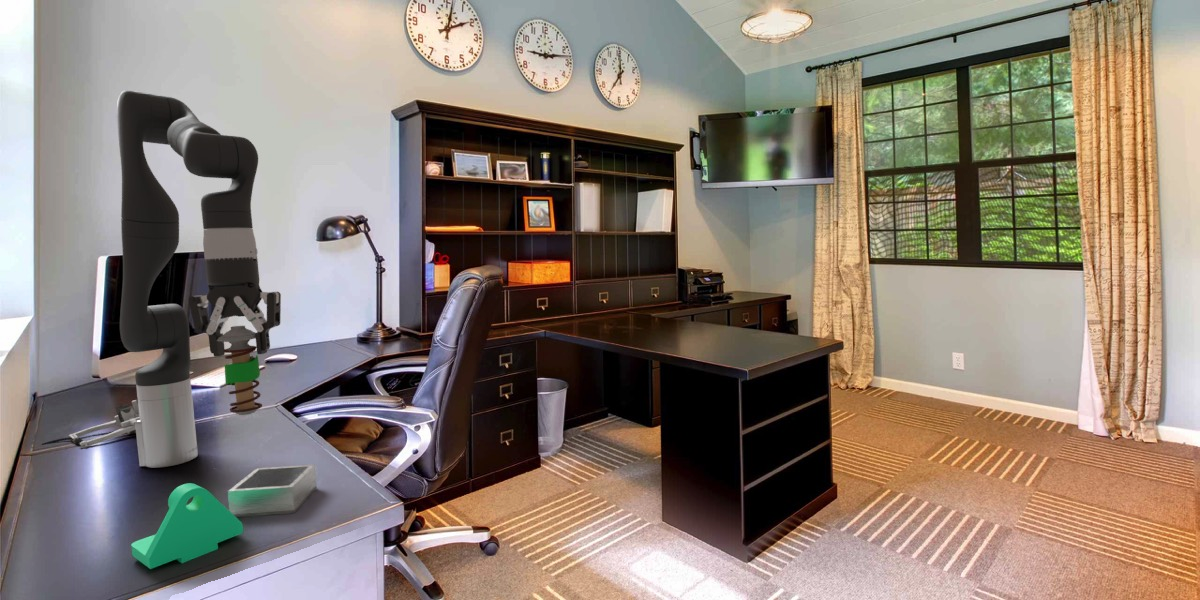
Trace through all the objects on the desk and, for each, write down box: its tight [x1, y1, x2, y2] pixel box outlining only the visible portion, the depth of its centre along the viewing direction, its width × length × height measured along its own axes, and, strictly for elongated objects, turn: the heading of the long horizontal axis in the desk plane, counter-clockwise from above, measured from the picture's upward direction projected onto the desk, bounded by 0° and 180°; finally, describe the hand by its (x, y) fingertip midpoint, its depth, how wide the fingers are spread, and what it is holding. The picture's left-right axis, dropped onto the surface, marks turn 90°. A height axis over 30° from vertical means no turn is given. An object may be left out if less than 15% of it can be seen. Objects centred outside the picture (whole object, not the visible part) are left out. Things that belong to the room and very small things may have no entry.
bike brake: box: [41, 399, 140, 449], centre depth 144 cm, size 14×7×20 cm
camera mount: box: [130, 482, 244, 570], centre depth 88 cm, size 12×8×10 cm, turn 145°
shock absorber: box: [217, 325, 263, 416], centre depth 101 cm, size 6×6×15 cm
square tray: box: [227, 464, 318, 518], centre depth 104 cm, size 10×10×4 cm
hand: (241, 354), depth 101 cm, fingers closed on shock absorber, 6 cm apart
